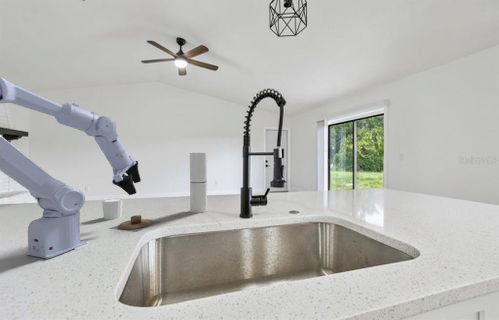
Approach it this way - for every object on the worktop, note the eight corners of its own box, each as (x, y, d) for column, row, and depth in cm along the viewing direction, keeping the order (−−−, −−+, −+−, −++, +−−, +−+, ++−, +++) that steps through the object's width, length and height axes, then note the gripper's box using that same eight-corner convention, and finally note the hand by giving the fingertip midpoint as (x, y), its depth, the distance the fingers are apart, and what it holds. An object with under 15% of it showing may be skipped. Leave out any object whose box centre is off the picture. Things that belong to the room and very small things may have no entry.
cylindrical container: (186, 212, 92) (186, 152, 92) (195, 208, 99) (195, 153, 98) (202, 213, 90) (201, 152, 90) (210, 209, 97) (209, 153, 96)
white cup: (98, 219, 82) (97, 200, 82) (116, 215, 88) (116, 197, 88) (108, 222, 79) (108, 202, 79) (127, 217, 85) (126, 199, 85)
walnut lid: (136, 230, 68) (136, 221, 68) (111, 227, 71) (111, 219, 71) (158, 221, 78) (158, 213, 78) (135, 219, 81) (135, 212, 81)
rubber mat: (136, 232, 67) (136, 231, 67) (109, 229, 71) (109, 228, 71) (160, 222, 78) (160, 221, 78) (136, 220, 81) (136, 219, 81)
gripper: (122, 159, 63) (143, 195, 70) (133, 141, 76) (150, 174, 82) (97, 166, 62) (120, 203, 69) (112, 147, 75) (131, 179, 82)
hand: (135, 187), depth 76 cm, fingers open, 7 cm apart
